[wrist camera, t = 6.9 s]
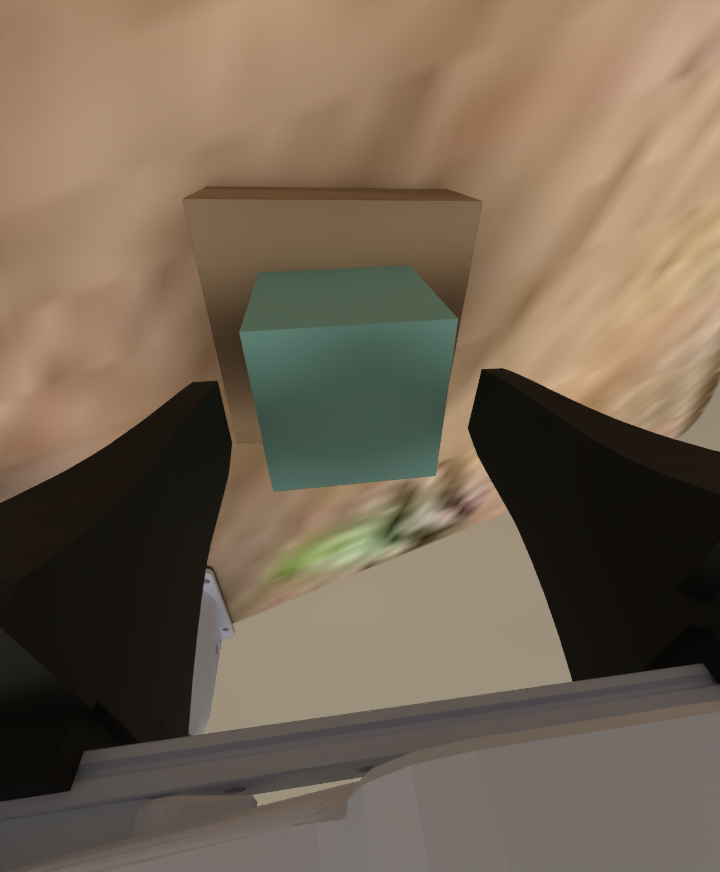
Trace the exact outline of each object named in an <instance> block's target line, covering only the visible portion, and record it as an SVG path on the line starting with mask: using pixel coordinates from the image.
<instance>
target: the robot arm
mask: <svg viewBox="0 0 720 872" xmlns="http://www.w3.org/2000/svg"><path fill="white" fill-rule="evenodd" d="M468 430H469V433H470V436H471V439H472V442H473V444H474V447H475V450H476V452H477V455H478V457H479V459H480V461H481V463H482V464H483V466H484V468H485V470H486V472H487V474H488V475H489V477H490V479H491V481H492V483H493V484H494V486H495V488H496V490H497V491H498V493H499V495H500V497H501V498H502V500H503V502H504V504H505V506H506V507H507V509H508V511H509V513H510V514H511V516H512V518H513V520H514V522H515V524H516V526H517V528H518V530H519V532H520V535H521V537H522V539H523V542H524V544H525V546H526V549H527V551H528V553H529V556H530V558H531V560H532V563H533V566H534V568H535V571H536V574H537V576H538V579H539V581H540V584H541V587H542V589H543V592H544V594H545V597H546V600H547V603H548V606H549V609H550V611H551V615H552V617H553V620H554V623H555V626H556V629H557V632H558V635H559V638H560V641H561V645H562V648H563V651H564V654H565V657H566V661H567V664H568V668H569V671H570V674H571V677H572V681H573V682H567V683H560V684H553V685H546V686H540V687H532V688H525V689H519V690H511V691H504V692H497V693H490V694H483V695H476V696H469V697H462V698H455V699H448V700H440V701H433V702H426V703H420V704H412V705H406V706H399V707H392V708H384V709H377V710H370V711H363V712H356V713H349V714H342V715H335V716H328V717H321V718H314V719H307V720H300V721H293V722H286V723H279V724H272V725H265V726H258V727H251V728H244V729H236V730H230V731H222V732H216V733H208V734H203V732H204V730H205V728H206V726H207V723H208V720H209V717H210V712H211V705H212V699H213V692H214V686H215V680H216V673H217V667H218V660H219V654H220V648H221V641H222V639H224V638H231V637H233V636H234V633H235V630H234V627H233V624H232V622H231V619H230V616H229V614H228V611H227V608H226V606H225V603H224V600H223V598H222V595H221V592H220V589H219V587H218V584H217V581H216V579H215V576H214V573H213V571H212V570H210V569H206V565H207V559H208V554H209V550H210V545H211V541H212V537H213V533H214V529H215V526H216V522H217V518H218V514H219V510H220V506H221V503H222V499H223V495H224V491H225V487H226V483H227V479H228V475H229V468H230V459H231V448H232V441H231V436H230V432H229V428H228V424H227V419H226V415H225V411H224V406H223V402H222V398H221V394H220V389H219V385H218V381H206V382H193V383H191V384H189V385H188V386H187V387H185V388H184V389H183V390H181V391H180V392H179V393H177V394H176V395H175V396H174V397H172V398H171V399H170V400H169V401H167V402H166V403H165V404H164V405H162V406H161V407H160V408H158V409H157V410H156V411H155V412H153V413H152V414H151V415H150V416H148V417H147V418H146V419H144V420H143V421H142V422H140V423H139V424H138V425H136V426H135V427H133V428H132V429H130V430H129V431H128V432H126V433H125V434H123V435H122V436H121V437H119V438H118V439H116V440H115V441H114V442H112V443H111V444H109V445H108V446H106V447H105V448H103V449H101V450H100V451H98V452H97V453H95V454H93V455H92V456H90V457H88V458H87V459H85V460H83V461H82V462H80V463H78V464H76V465H75V466H73V467H71V468H70V469H68V470H66V471H64V472H62V473H60V474H59V475H57V476H55V477H53V478H51V479H48V480H46V481H44V482H42V483H40V484H38V485H36V486H34V487H32V488H30V489H28V490H26V491H24V492H22V493H20V494H18V495H16V496H14V497H12V498H10V499H8V500H6V501H4V502H1V503H0V872H720V452H718V451H714V450H710V449H706V448H703V447H699V446H696V445H692V444H689V443H685V442H682V441H678V440H675V439H672V438H668V437H665V436H662V435H659V434H656V433H653V432H650V431H647V430H644V429H642V428H639V427H636V426H633V425H630V424H627V423H625V422H622V421H620V420H617V419H614V418H612V417H609V416H607V415H605V414H602V413H600V412H598V411H595V410H593V409H591V408H588V407H586V406H584V405H582V404H580V403H577V402H575V401H573V400H571V399H569V398H567V397H565V396H563V395H560V394H558V393H556V392H554V391H552V390H550V389H548V388H546V387H544V386H542V385H540V384H538V383H536V382H534V381H532V380H530V379H527V378H525V377H523V376H521V375H519V374H516V373H514V372H512V371H509V370H506V369H503V368H500V369H482V370H481V374H480V379H479V383H478V387H477V391H476V396H475V400H474V404H473V409H472V413H471V417H470V421H469V426H468ZM359 777H363V778H362V779H361V780H360V781H358V782H353V783H349V784H345V785H341V786H337V787H333V788H329V789H325V790H321V791H318V792H313V793H310V794H306V795H302V796H298V797H294V798H290V799H286V800H282V801H278V802H274V803H270V804H266V805H262V806H258V807H257V801H256V800H255V798H254V797H253V796H252V795H254V794H259V793H266V792H273V791H279V790H285V789H291V788H297V787H304V786H310V785H316V784H322V783H328V782H334V781H341V780H347V779H353V778H359Z"/></svg>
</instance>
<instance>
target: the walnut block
mask: <svg viewBox="0 0 720 872" xmlns="http://www.w3.org/2000/svg"><path fill="white" fill-rule="evenodd" d="M182 200H183V204H184V209H185V213H186V218H187V222H188V227H189V231H190V236H191V240H192V244H193V249H194V253H195V258H196V262H197V267H198V271H199V276H200V280H201V285H202V289H203V293H204V298H205V302H206V307H207V311H208V316H209V320H210V325H211V329H212V333H213V338H214V342H215V347H216V351H217V356H218V360H219V365H220V369H221V373H222V378H223V382H224V387H225V391H226V396H227V400H228V405H229V409H230V413H231V418H232V422H233V427H234V431H235V436H236V440H237V444H240V443H256V442H263V441H262V436H261V431H260V427H259V422H258V417H257V413H256V408H255V403H254V399H253V394H252V389H251V385H250V380H249V375H248V371H247V366H246V361H245V357H244V352H243V347H242V343H241V338H240V333H239V331H240V328H241V325H242V322H243V319H244V316H245V313H246V310H247V307H248V304H249V300H250V297H251V294H252V291H253V288H254V285H255V282H256V279H257V276H258V273H259V272H279V271H300V270H321V269H342V268H363V267H384V266H405V265H410V266H411V267H412V268H413V269H414V271H415V272H416V273H417V274H418V275H419V276H420V277H421V278H422V279H423V280H424V282H425V283H426V284H427V285H428V286H429V287H430V288H431V289H432V290H433V292H434V293H435V294H436V295H437V296H438V297H439V298H440V299H441V300H442V302H443V303H444V304H445V305H446V306H447V307H448V308H449V309H450V310H451V311H452V313H453V314H454V315H455V316H456V317H457V318H458V323H457V330H456V337H455V344H454V351H453V358H452V364H453V359H454V353H455V348H456V342H457V337H458V331H459V326H460V320H461V315H462V310H463V304H464V299H465V293H466V288H467V282H468V277H469V271H470V266H471V260H472V255H473V249H474V244H475V238H476V233H477V227H478V222H479V217H480V211H481V206H482V201H480V200H477V199H474V198H472V197H469V196H466V195H463V194H460V193H457V192H454V191H451V190H448V189H376V188H279V187H205V188H203V189H201V190H199V191H197V192H195V193H193V194H191V195H189V196H187V197H185V198H183V199H182ZM451 370H452V365H451ZM450 375H451V372H450ZM449 381H450V379H449Z"/></svg>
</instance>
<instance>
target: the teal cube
mask: <svg viewBox="0 0 720 872" xmlns="http://www.w3.org/2000/svg"><path fill="white" fill-rule="evenodd" d="M457 323H458V318H457V317H456V316H455V315H454V314H453V313H452V311H451V310H450V309H449V308H448V307H447V306H446V305H445V304H444V303H443V302H442V300H441V299H440V298H439V297H438V296H437V295H436V294H435V293H434V292H433V290H432V289H431V288H430V287H429V286H428V285H427V284H426V283H425V282H424V280H423V279H422V278H421V277H420V276H419V275H418V274H417V273H416V272H415V271H414V269H413V268H412V267H411V266H410V265H405V266H384V267H363V268H342V269H321V270H300V271H279V272H259V273H258V276H257V279H256V282H255V285H254V288H253V291H252V294H251V297H250V300H249V304H248V307H247V310H246V313H245V316H244V319H243V322H242V325H241V328H240V331H239V333H240V338H241V343H242V347H243V352H244V357H245V361H246V366H247V371H248V375H249V380H250V385H251V389H252V394H253V399H254V403H255V408H256V413H257V417H258V422H259V427H260V431H261V436H262V441H263V445H264V450H265V455H266V459H267V464H268V469H269V473H270V478H271V483H272V487H273V492H275V491H285V490H296V489H306V488H316V487H326V486H337V485H347V484H357V483H367V482H377V481H388V480H398V479H408V478H418V477H429V476H436V470H437V463H438V456H439V449H440V442H441V435H442V428H443V421H444V414H445V407H446V400H447V393H448V386H449V379H450V372H451V365H452V358H453V351H454V344H455V337H456V330H457Z"/></svg>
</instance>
